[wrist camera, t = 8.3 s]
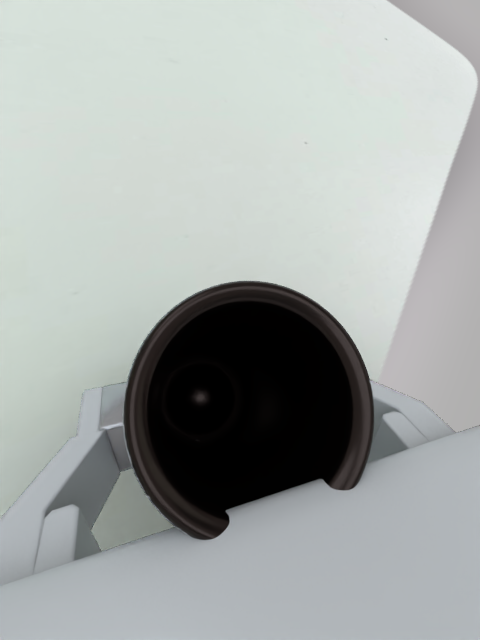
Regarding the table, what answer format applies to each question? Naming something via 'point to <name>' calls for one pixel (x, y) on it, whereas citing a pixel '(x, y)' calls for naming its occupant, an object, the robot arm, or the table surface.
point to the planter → (244, 403)
